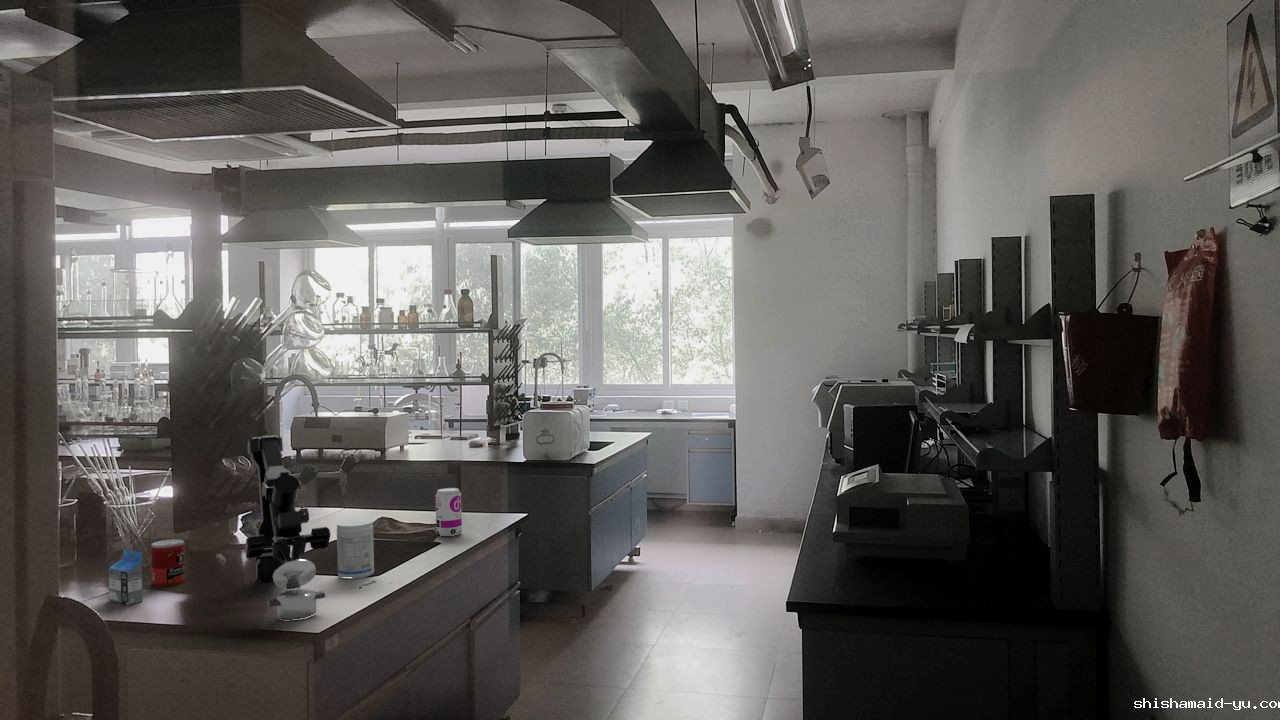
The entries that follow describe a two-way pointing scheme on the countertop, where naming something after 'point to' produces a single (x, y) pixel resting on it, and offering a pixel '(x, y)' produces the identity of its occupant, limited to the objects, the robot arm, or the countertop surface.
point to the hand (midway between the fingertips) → (293, 571)
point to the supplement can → (448, 511)
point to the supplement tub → (355, 548)
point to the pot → (296, 603)
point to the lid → (294, 574)
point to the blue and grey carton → (126, 579)
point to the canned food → (168, 562)
